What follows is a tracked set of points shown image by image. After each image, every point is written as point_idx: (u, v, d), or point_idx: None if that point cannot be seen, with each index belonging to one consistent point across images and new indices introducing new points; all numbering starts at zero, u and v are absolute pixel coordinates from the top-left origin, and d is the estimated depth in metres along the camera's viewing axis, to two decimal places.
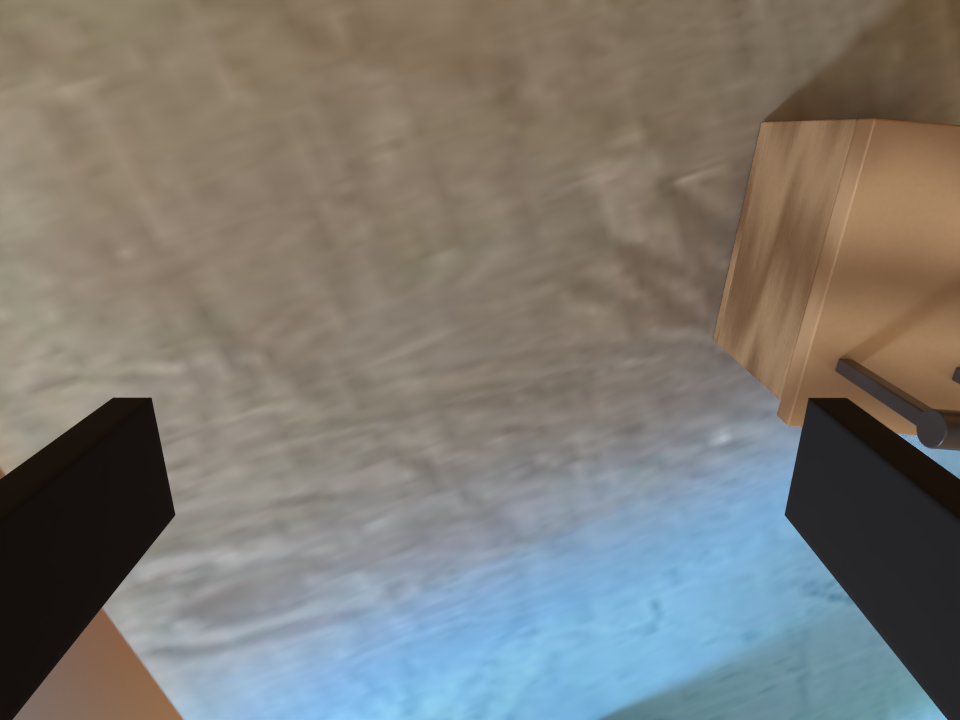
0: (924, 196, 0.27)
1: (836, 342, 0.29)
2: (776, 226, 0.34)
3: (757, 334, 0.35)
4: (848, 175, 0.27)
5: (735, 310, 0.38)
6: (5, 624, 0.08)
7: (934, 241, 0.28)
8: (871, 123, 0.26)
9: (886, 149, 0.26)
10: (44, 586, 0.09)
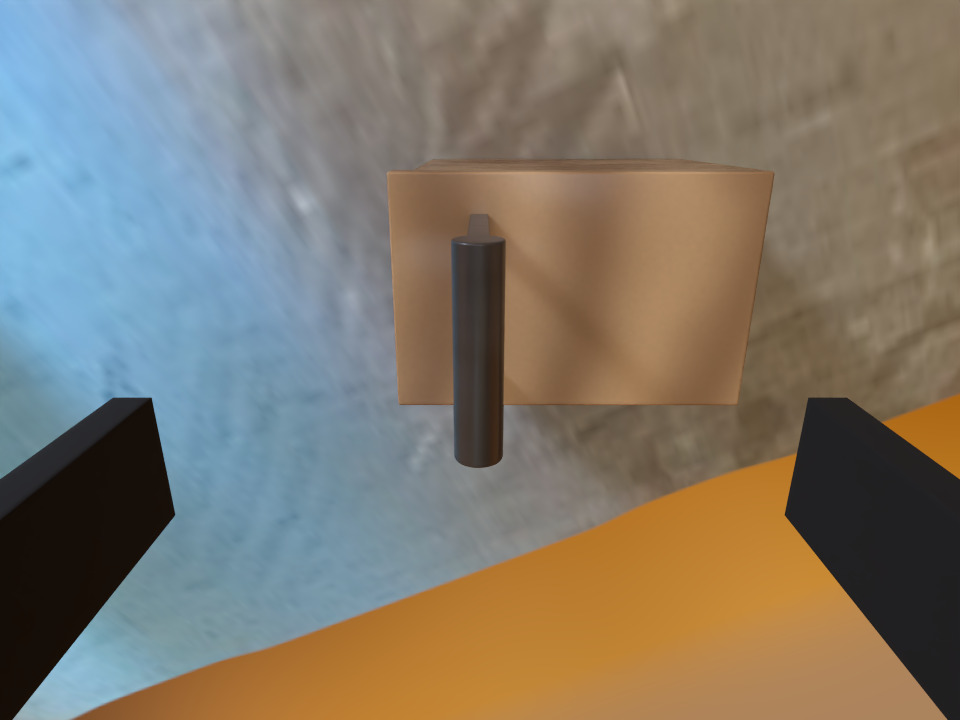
0: (685, 256, 0.24)
1: (507, 205, 0.23)
2: (599, 163, 0.29)
3: (472, 164, 0.28)
4: (704, 170, 0.24)
5: (481, 161, 0.31)
6: (5, 624, 0.08)
7: (634, 283, 0.24)
8: (768, 171, 0.23)
9: (740, 196, 0.23)
10: (43, 586, 0.09)
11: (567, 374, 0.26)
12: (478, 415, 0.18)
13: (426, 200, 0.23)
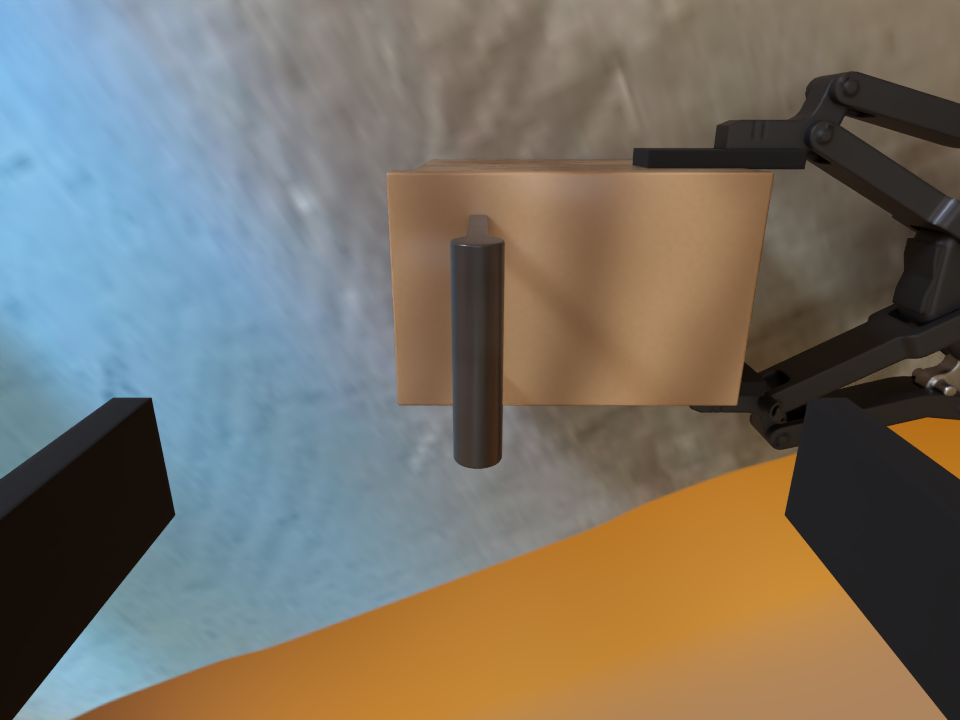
0: (685, 257, 0.24)
1: (507, 205, 0.23)
2: (598, 164, 0.29)
3: (472, 165, 0.28)
4: (704, 171, 0.24)
5: (481, 161, 0.31)
6: (5, 624, 0.08)
7: (634, 284, 0.24)
8: (768, 172, 0.23)
9: (740, 196, 0.23)
10: (43, 586, 0.09)
11: (567, 375, 0.26)
12: (477, 416, 0.18)
13: (426, 200, 0.23)
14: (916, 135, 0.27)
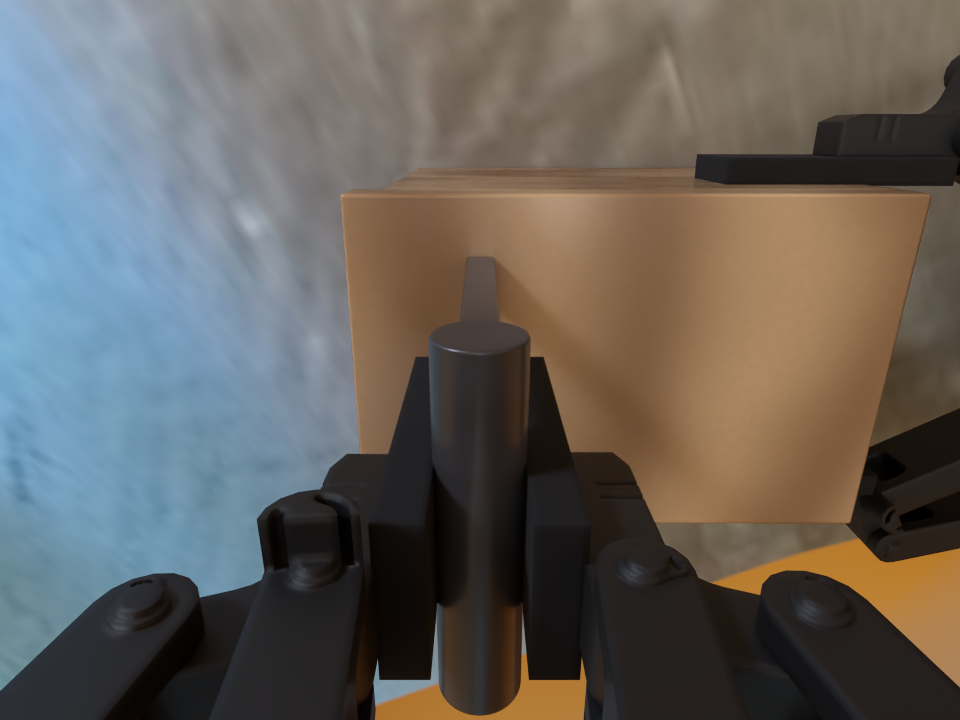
0: (789, 318, 0.16)
1: (524, 243, 0.15)
2: (646, 176, 0.21)
3: (471, 178, 0.20)
4: (820, 190, 0.16)
5: (484, 171, 0.23)
6: None
7: (710, 357, 0.16)
8: (921, 193, 0.15)
9: (877, 230, 0.15)
10: None
11: None
12: (479, 637, 0.10)
13: (401, 235, 0.15)
14: None
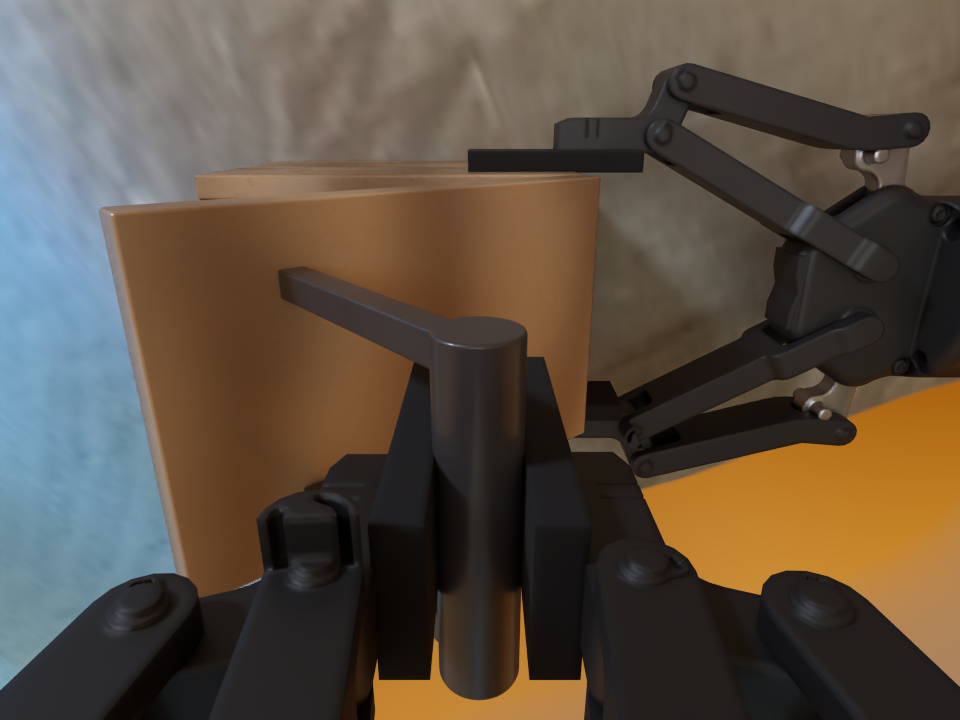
0: (535, 283, 0.20)
1: (332, 248, 0.15)
2: (436, 167, 0.26)
3: (291, 168, 0.25)
4: (534, 179, 0.20)
5: None
6: None
7: None
8: None
9: (576, 206, 0.20)
10: None
11: None
12: (506, 616, 0.11)
13: (198, 256, 0.13)
14: (776, 134, 0.24)
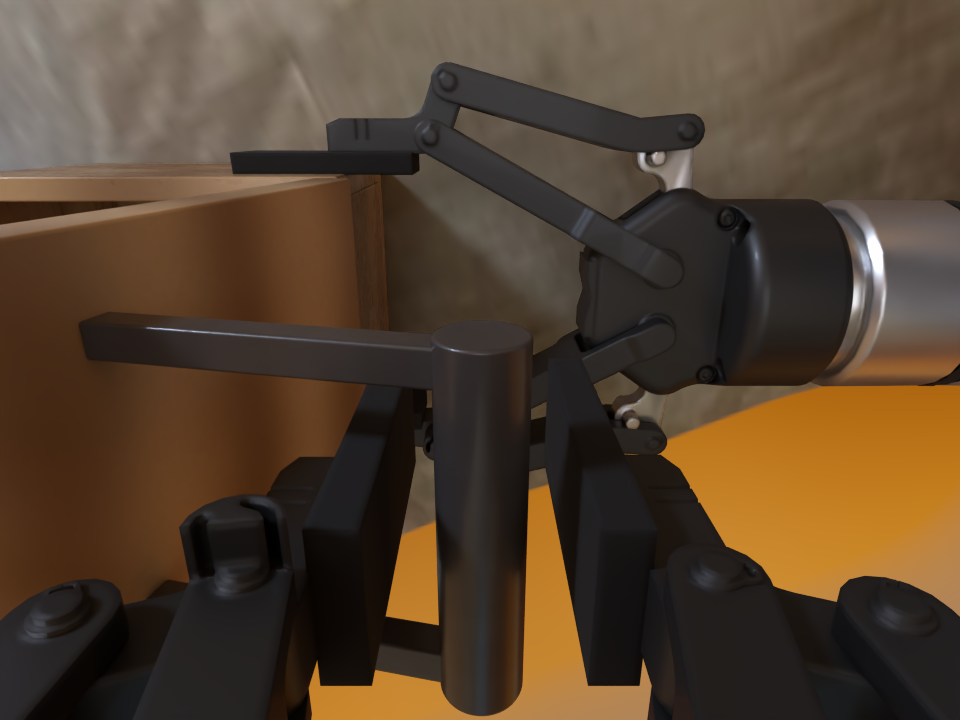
0: (317, 294, 0.18)
1: (135, 283, 0.11)
2: (231, 168, 0.25)
3: (74, 170, 0.25)
4: (293, 183, 0.18)
5: (131, 165, 0.28)
6: (387, 525, 0.10)
7: None
8: None
9: (337, 210, 0.19)
10: (392, 501, 0.11)
11: None
12: (523, 612, 0.11)
13: None
14: None
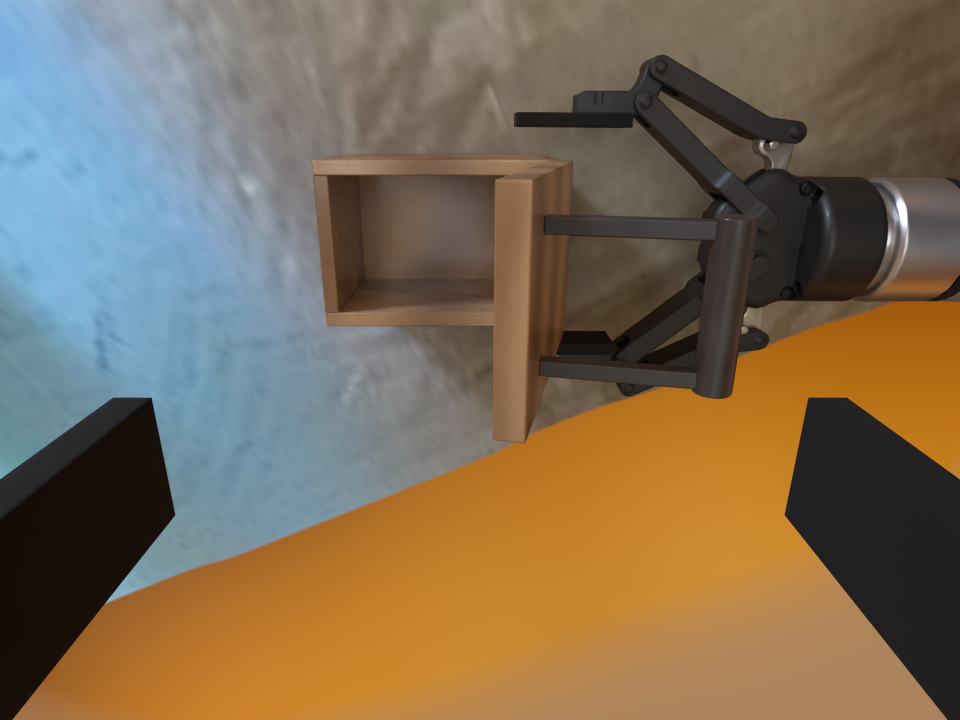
0: None
1: (549, 203, 0.24)
2: (462, 156, 0.38)
3: None
4: (554, 162, 0.31)
5: None
6: (5, 624, 0.08)
7: (559, 256, 0.30)
8: None
9: (570, 179, 0.32)
10: (43, 586, 0.09)
11: (550, 347, 0.29)
12: None
13: (538, 207, 0.21)
14: (713, 120, 0.36)
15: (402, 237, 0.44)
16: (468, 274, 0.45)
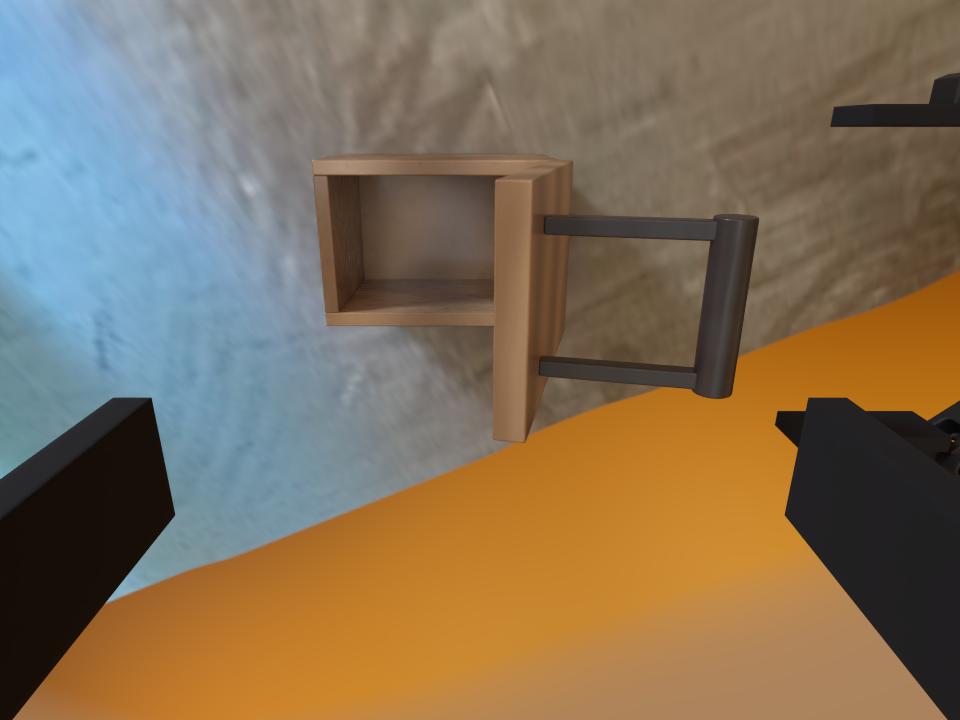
0: None
1: (549, 203, 0.24)
2: (462, 156, 0.38)
3: None
4: (554, 162, 0.31)
5: None
6: (5, 624, 0.08)
7: (559, 256, 0.30)
8: None
9: (570, 179, 0.32)
10: (43, 586, 0.09)
11: (550, 347, 0.29)
12: None
13: (538, 207, 0.21)
14: None
15: (402, 237, 0.44)
16: (468, 274, 0.45)
